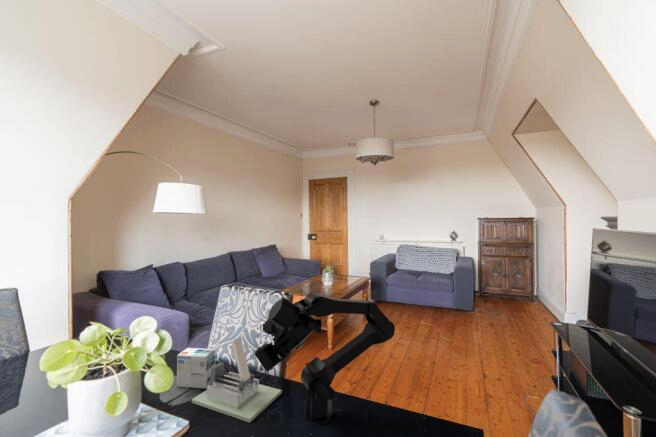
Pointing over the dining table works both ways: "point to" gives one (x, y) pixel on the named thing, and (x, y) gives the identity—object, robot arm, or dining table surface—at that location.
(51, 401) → the dining table surface
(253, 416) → the pale green board
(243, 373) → the steel strap
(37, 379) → the dining table surface
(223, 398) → the heat sink
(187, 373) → the light bulb box
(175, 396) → the dining table surface
